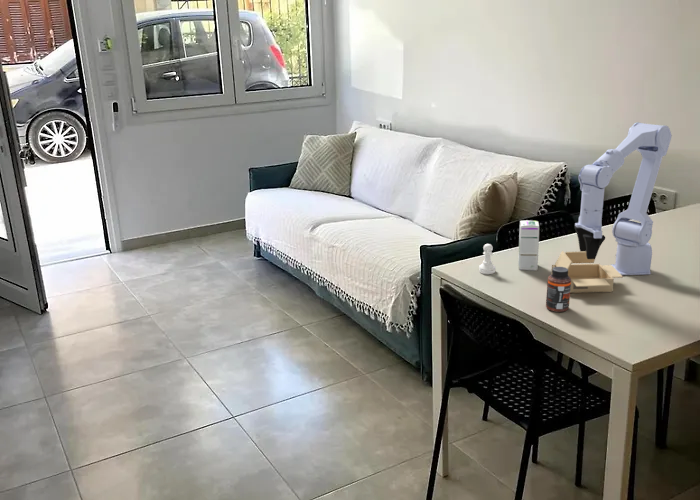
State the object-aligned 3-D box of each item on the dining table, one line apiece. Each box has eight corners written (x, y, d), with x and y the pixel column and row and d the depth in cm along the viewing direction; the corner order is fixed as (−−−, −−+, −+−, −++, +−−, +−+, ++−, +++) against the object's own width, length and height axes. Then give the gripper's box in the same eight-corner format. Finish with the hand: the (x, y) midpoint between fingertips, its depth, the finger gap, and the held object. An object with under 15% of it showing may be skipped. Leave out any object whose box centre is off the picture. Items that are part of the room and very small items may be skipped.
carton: (608, 276, 196) (609, 263, 194) (629, 298, 180) (630, 284, 179) (551, 277, 196) (551, 264, 195) (566, 299, 181) (567, 285, 180)
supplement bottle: (565, 314, 172) (568, 274, 168) (542, 310, 175) (545, 270, 171) (571, 306, 177) (574, 267, 173) (549, 302, 180) (552, 263, 176)
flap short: (593, 261, 194) (596, 251, 191) (593, 262, 194) (597, 251, 190) (562, 262, 194) (565, 251, 191) (563, 263, 194) (565, 252, 191)
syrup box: (537, 270, 202) (540, 225, 197) (518, 270, 203) (520, 225, 198) (536, 264, 207) (539, 220, 202) (517, 263, 208) (519, 219, 203)
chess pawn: (480, 274, 201) (481, 247, 198) (477, 268, 205) (478, 241, 202) (496, 274, 200) (497, 246, 197) (493, 268, 205) (494, 241, 202)
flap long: (556, 264, 193) (563, 251, 192) (564, 275, 185) (572, 262, 184) (554, 264, 193) (562, 250, 192) (563, 275, 185) (571, 261, 183)
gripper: (569, 201, 188) (565, 246, 192) (585, 216, 174) (580, 264, 179) (594, 201, 187) (590, 246, 192) (611, 215, 174) (607, 263, 178)
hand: (587, 254), depth 185 cm, fingers open, 6 cm apart
